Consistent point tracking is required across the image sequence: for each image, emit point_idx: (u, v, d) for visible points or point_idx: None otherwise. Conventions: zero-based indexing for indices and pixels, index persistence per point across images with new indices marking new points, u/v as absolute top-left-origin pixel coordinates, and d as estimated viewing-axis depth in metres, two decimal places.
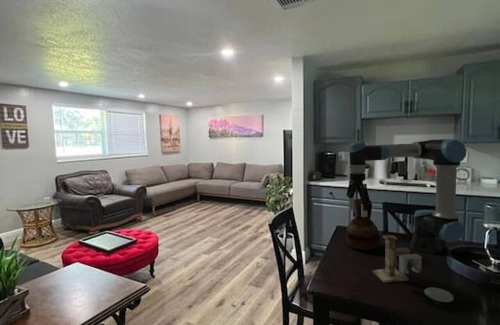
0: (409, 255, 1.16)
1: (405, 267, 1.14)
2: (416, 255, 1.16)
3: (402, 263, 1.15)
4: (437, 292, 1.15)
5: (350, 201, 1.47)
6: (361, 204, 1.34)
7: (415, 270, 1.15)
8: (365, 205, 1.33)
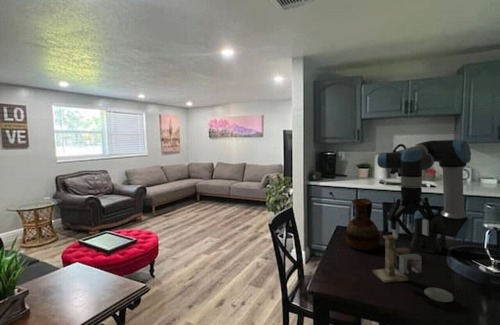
0: (409, 255, 1.16)
1: (405, 267, 1.14)
2: (416, 255, 1.16)
3: (402, 263, 1.15)
4: (437, 292, 1.15)
5: (423, 223, 1.16)
6: None
7: (415, 270, 1.15)
8: (391, 222, 1.14)
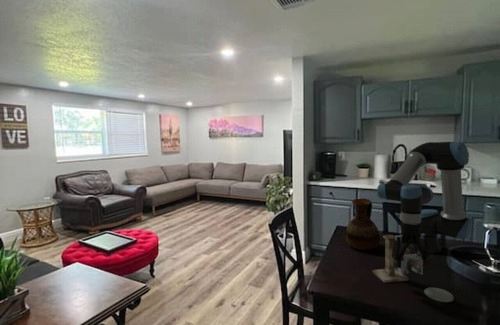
0: (409, 255, 1.16)
1: (405, 267, 1.14)
2: (416, 255, 1.16)
3: None
4: (437, 292, 1.15)
5: None
6: None
7: (415, 270, 1.16)
8: (397, 261, 1.15)
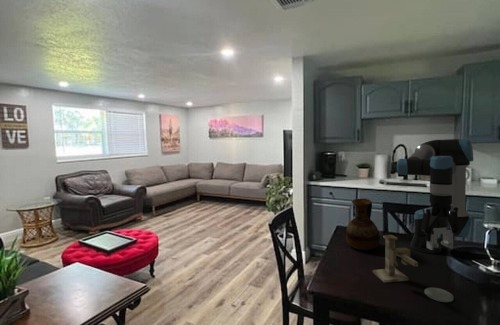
0: (439, 229, 1.12)
1: (435, 241, 1.10)
2: (446, 228, 1.12)
3: None
4: (437, 292, 1.15)
5: None
6: None
7: (445, 244, 1.11)
8: (426, 234, 1.12)
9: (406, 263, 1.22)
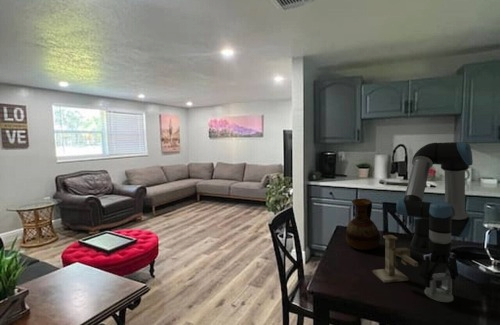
0: (438, 274, 1.14)
1: (434, 287, 1.12)
2: (445, 274, 1.13)
3: None
4: None
5: None
6: None
7: (444, 290, 1.13)
8: (425, 280, 1.13)
9: (406, 263, 1.22)
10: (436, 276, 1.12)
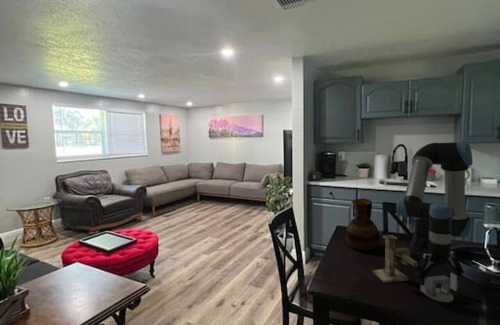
0: (437, 277, 1.14)
1: (434, 290, 1.12)
2: (445, 277, 1.13)
3: (431, 285, 1.12)
4: (437, 292, 1.15)
5: (451, 277, 1.15)
6: None
7: (444, 293, 1.13)
8: (420, 278, 1.13)
9: (406, 263, 1.22)
10: (436, 279, 1.12)
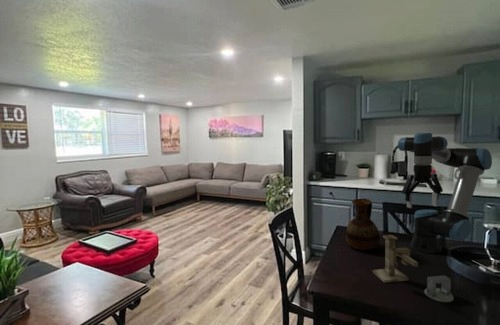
0: (437, 277, 1.14)
1: (434, 290, 1.12)
2: (445, 277, 1.13)
3: (431, 285, 1.12)
4: (437, 292, 1.15)
5: (433, 196, 1.36)
6: None
7: (444, 293, 1.13)
8: (406, 195, 1.34)
9: (406, 263, 1.22)
10: (436, 279, 1.12)
